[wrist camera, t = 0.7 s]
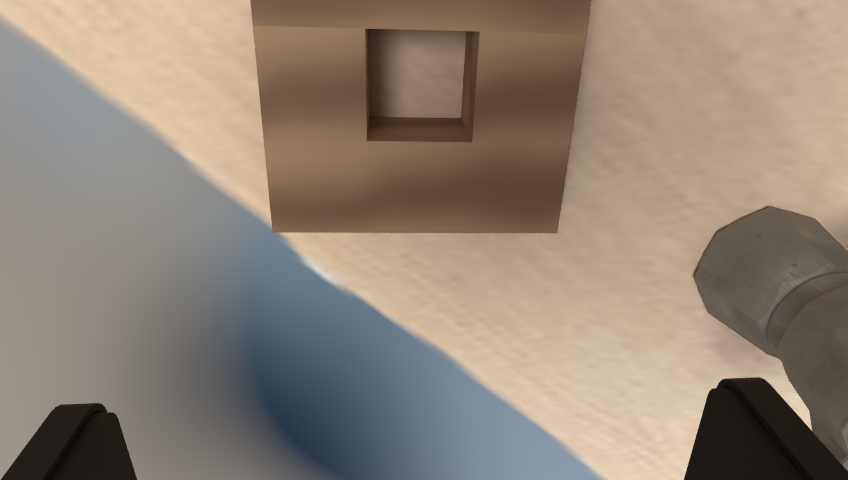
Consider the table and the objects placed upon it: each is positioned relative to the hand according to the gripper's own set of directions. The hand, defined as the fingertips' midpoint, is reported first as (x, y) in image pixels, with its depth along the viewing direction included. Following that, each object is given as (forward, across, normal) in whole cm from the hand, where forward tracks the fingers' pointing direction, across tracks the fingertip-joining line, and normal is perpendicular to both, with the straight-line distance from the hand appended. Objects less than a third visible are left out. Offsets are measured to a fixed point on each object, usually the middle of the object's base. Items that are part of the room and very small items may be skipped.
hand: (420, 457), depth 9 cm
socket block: (+27, -1, -1) cm, 27 cm away
